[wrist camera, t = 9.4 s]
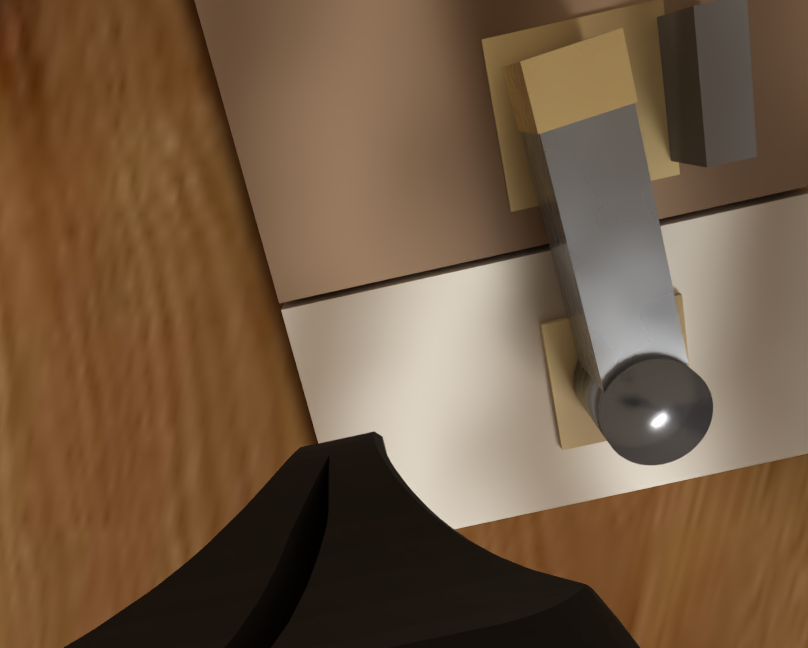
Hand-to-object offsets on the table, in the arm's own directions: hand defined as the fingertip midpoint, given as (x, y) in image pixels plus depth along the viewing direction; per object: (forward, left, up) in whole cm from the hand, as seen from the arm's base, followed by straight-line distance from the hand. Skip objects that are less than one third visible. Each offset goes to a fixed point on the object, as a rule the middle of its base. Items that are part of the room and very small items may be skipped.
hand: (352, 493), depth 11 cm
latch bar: (-7, -1, -9) cm, 11 cm away
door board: (-5, -2, -10) cm, 11 cm away
